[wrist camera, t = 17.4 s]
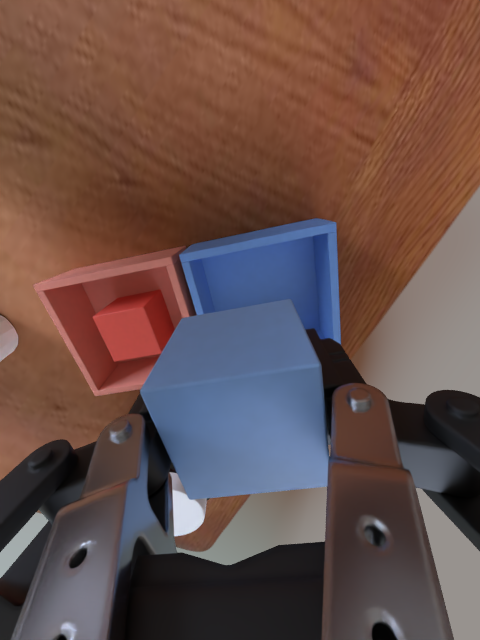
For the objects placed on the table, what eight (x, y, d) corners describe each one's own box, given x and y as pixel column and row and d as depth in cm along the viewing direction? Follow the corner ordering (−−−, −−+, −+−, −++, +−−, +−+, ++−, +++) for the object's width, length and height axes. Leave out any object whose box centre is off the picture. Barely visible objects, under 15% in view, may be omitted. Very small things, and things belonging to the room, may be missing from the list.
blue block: (181, 317, 10) (137, 391, 6) (291, 297, 10) (321, 363, 6) (208, 401, 12) (188, 501, 8) (302, 388, 12) (332, 487, 8)
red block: (117, 297, 25) (91, 316, 20) (160, 289, 24) (143, 306, 20) (134, 337, 26) (114, 362, 22) (175, 330, 26) (162, 354, 22)
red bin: (73, 269, 24) (32, 284, 19) (185, 245, 23) (170, 256, 18) (119, 365, 29) (95, 396, 24) (215, 349, 28) (209, 378, 23)
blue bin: (192, 244, 23) (178, 254, 18) (316, 217, 22) (336, 222, 17) (220, 348, 27) (215, 378, 23) (324, 331, 26) (341, 358, 22)
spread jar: (228, 382, 29) (219, 482, 19) (235, 449, 34) (231, 559, 24) (127, 386, 30) (63, 486, 19) (148, 451, 35) (106, 561, 24)
